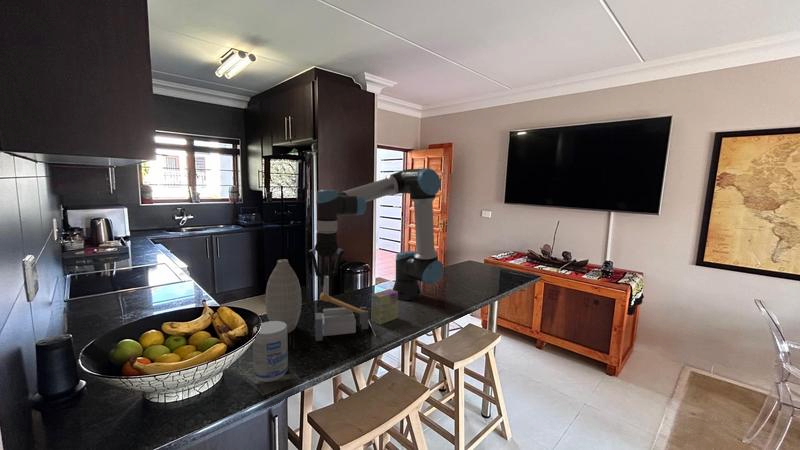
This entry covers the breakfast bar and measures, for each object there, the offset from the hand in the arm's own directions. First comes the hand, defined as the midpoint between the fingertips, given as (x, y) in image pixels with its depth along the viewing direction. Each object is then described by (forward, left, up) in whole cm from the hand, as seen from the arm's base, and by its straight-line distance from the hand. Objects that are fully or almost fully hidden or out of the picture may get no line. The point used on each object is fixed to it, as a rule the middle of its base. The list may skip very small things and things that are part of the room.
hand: (325, 293), depth 123 cm
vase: (+15, -4, -16) cm, 22 cm away
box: (-25, -7, -16) cm, 30 cm away
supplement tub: (+17, +24, -16) cm, 34 cm away
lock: (+3, +5, -14) cm, 16 cm away
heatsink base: (-6, 0, -16) cm, 17 cm away
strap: (-6, 0, -6) cm, 9 cm away
